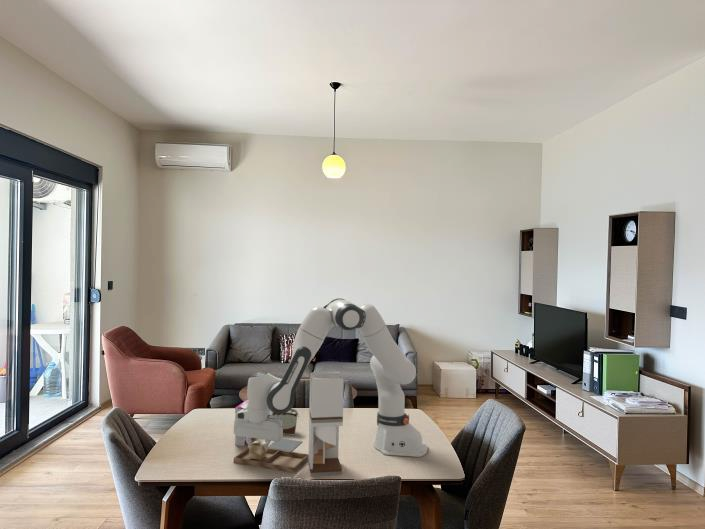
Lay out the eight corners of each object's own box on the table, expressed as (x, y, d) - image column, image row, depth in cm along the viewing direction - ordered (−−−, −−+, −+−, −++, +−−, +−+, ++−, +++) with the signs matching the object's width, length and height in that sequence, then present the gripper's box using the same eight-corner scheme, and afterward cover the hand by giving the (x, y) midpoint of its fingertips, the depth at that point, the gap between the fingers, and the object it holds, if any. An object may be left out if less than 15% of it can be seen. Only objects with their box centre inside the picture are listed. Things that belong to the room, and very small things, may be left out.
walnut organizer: (308, 460, 176) (308, 454, 176) (294, 474, 164) (294, 468, 164) (251, 450, 184) (251, 445, 184) (233, 463, 172) (233, 458, 172)
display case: (310, 476, 163) (312, 379, 163) (308, 463, 173) (310, 372, 173) (341, 474, 165) (343, 378, 165) (337, 462, 175) (339, 371, 175)
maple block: (266, 454, 178) (266, 441, 178) (260, 459, 173) (260, 446, 173) (255, 453, 179) (255, 440, 179) (249, 458, 175) (249, 445, 175)
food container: (300, 430, 209) (301, 408, 209) (298, 434, 203) (298, 412, 203) (274, 428, 210) (275, 407, 210) (271, 433, 204) (271, 411, 204)
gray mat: (302, 443, 193) (302, 441, 193) (291, 453, 183) (291, 451, 183) (279, 439, 196) (279, 438, 196) (266, 449, 186) (266, 447, 186)
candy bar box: (245, 436, 200) (246, 399, 200) (256, 437, 199) (256, 400, 199) (234, 446, 189) (234, 407, 189) (245, 447, 188) (245, 408, 188)
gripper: (286, 414, 176) (285, 449, 176) (240, 408, 182) (239, 442, 182) (278, 419, 170) (278, 456, 170) (231, 413, 176) (231, 448, 176)
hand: (258, 449), depth 176 cm, fingers closed on maple block, 5 cm apart
